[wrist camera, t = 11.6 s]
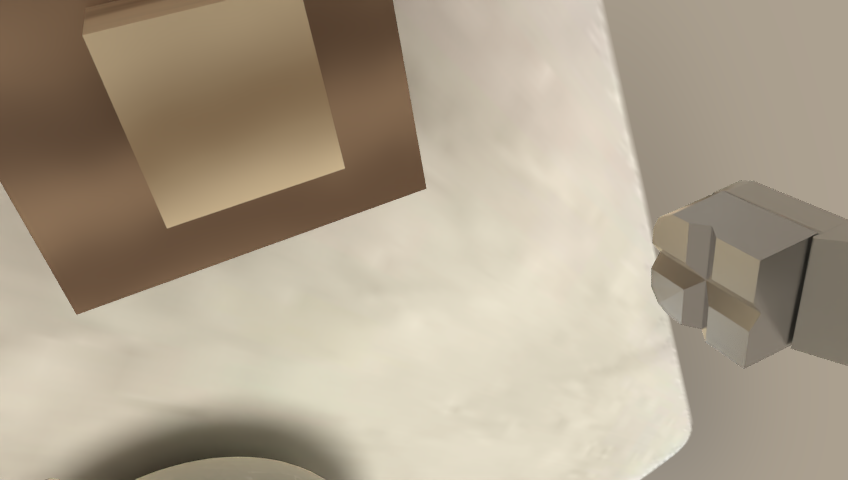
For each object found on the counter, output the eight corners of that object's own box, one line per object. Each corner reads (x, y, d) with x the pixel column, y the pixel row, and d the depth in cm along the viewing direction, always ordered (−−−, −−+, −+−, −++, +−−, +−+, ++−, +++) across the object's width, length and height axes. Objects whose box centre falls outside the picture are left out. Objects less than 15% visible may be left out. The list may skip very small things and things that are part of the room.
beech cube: (86, 8, 21) (82, 35, 17) (256, -32, 23) (298, -17, 18) (153, 166, 25) (166, 228, 20) (299, 121, 26) (345, 168, 21)
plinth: (-138, -128, 21) (-182, -136, 17) (321, -200, 25) (353, -216, 22) (79, 269, 29) (76, 314, 26) (394, 162, 33) (426, 188, 30)
